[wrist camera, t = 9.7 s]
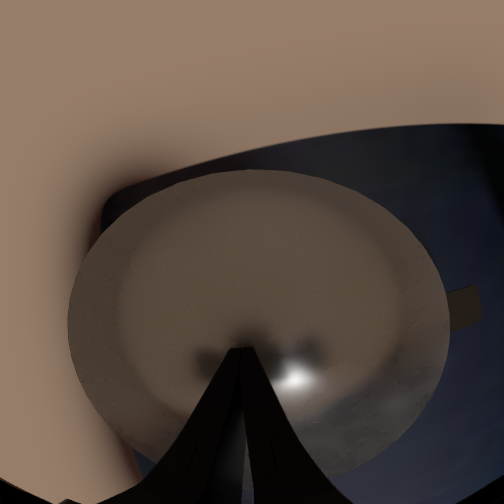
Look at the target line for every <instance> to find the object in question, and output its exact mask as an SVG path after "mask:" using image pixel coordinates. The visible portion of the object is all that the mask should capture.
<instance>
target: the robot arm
mask: <svg viewBox="0 0 504 504" xmlns="http://www.w3.org/2000/svg"><path fill="white" fill-rule="evenodd" d="M186 423H187V424H185V425H184V427H183V428H182V430H181V432H180V433H179V435H178V436H177V438H176V440H175V441H174V443H173V444H172V445H171V447H170V448H169V449H168V451H167V452H166V453H165V454H164V456H163V457H162V458H161V459H160V460H159V462H158V463H157V464H156V465H155V467H154V468H153V469H152V470H151V471H150V472H149V474H148V475H147V476H146V477H145V478H144V479H143V480H142V481H141V482H140V483H138V484H137V485H136V486H134V487H132V488H130V489H128V490H126V491H124V492H122V493H120V494H118V495H115V496H114V497H111V498H109V499H107V500H104V501H102V502H100V503H97V504H241V498H242V486H243V473H244V460H245V447H246V438H247V445H248V453H249V460H250V467H251V475H252V482H253V488H254V504H353V503H352V502H351V501H350V500H349V499H348V498H346V497H345V496H344V495H343V494H342V493H341V492H340V491H339V490H338V489H337V488H336V487H335V486H334V485H333V484H332V483H331V482H330V481H329V479H328V478H327V477H326V476H325V475H324V473H323V472H322V471H321V469H320V468H319V467H318V465H317V464H316V463H315V462H314V460H313V459H312V458H311V456H310V455H309V454H308V452H307V451H306V449H305V448H304V446H303V445H302V443H301V442H300V440H299V439H298V437H297V435H296V433H295V432H294V430H293V428H292V426H291V424H290V422H289V420H288V418H287V416H286V414H285V412H284V410H283V408H282V406H281V404H280V402H279V400H278V397H277V395H276V393H275V391H274V389H273V387H272V385H271V383H270V381H269V379H268V376H267V374H266V372H265V370H264V368H263V366H262V364H261V361H260V359H259V357H258V355H257V353H256V350H255V348H254V346H252V345H250V346H243V347H242V348H241V347H231V348H229V350H228V351H227V353H226V355H225V357H224V358H223V360H222V362H221V364H220V365H219V367H218V369H217V371H216V372H215V374H214V376H213V378H212V379H211V381H210V383H209V385H208V386H207V388H206V390H205V391H204V393H203V395H202V397H201V398H200V400H199V402H198V403H197V405H196V407H195V409H194V410H193V412H192V414H191V415H190V417H189V419H188V420H187V422H186ZM0 504H52V503H50V502H48V501H46V500H44V499H41V498H39V497H37V496H35V495H33V494H30V493H28V492H26V491H24V490H22V489H20V488H18V487H17V486H14V485H13V484H11V483H9V482H7V481H6V480H4V479H2V478H0ZM59 504H80V503H77V502H75V501H72V500H69V499H65V500H64V501H62V502H61V503H59ZM456 504H504V475H502V476H501V477H499V478H498V479H496V480H494V481H493V482H491V483H489V484H488V485H486V486H485V487H483V488H482V489H480V490H478V491H477V492H475V493H473V494H472V495H470V496H468V497H467V498H465V499H463V500H461V501H459V502H458V503H456Z"/></svg>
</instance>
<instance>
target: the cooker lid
mask: <svg viewBox="0 0 504 504" xmlns="http://www.w3.org/2000/svg"><path fill="white" fill-rule="evenodd" d="M449 339H450V315H449V309H448V303H447V297H446V293H445V290H444V287H443V284H442V281H441V278H440V276H439V273H438V271H437V269H436V267H435V265H434V263H433V262H432V260H431V258H430V256H429V255H428V253H427V251H426V249H425V248H424V247H423V246H422V244H421V243H420V242H419V241H418V239H417V238H416V237H415V236H414V235H413V233H412V232H411V231H410V230H409V229H408V228H407V227H406V226H405V225H404V224H403V223H402V222H400V221H399V220H398V219H397V218H396V217H395V216H393V215H392V214H391V213H390V212H389V211H387V210H386V209H385V208H383V207H382V206H380V205H379V204H377V203H375V202H373V201H372V200H370V199H368V198H367V197H365V196H363V195H362V194H360V193H358V192H356V191H354V190H351V189H349V188H346V187H344V186H341V185H338V184H336V183H333V182H330V181H328V180H325V179H322V178H317V177H313V176H308V175H303V174H298V173H293V172H288V171H273V170H240V171H230V172H221V173H213V174H209V175H205V176H201V177H198V178H194V179H190V180H187V181H183V182H180V183H177V184H175V185H173V186H170V187H168V188H166V189H164V190H161V191H159V192H157V193H155V194H153V195H151V196H149V197H147V198H145V199H144V200H142V201H141V202H139V203H138V204H136V205H135V206H133V207H132V208H131V209H129V210H128V211H126V212H125V213H123V214H122V215H121V216H120V217H119V218H118V219H117V220H116V221H115V222H114V223H113V224H112V225H110V226H109V227H108V228H107V229H106V230H105V231H104V232H103V233H102V235H101V236H100V237H99V239H98V240H97V241H96V243H95V244H94V245H93V247H92V248H91V250H90V251H89V252H88V254H87V256H86V257H85V260H84V261H83V263H82V265H81V268H80V270H79V272H78V274H77V276H76V279H75V282H74V286H73V289H72V293H71V296H70V302H69V310H68V340H69V346H70V351H71V357H72V361H73V363H74V367H75V370H76V373H77V376H78V378H79V380H80V383H81V385H82V387H83V389H84V391H85V393H86V395H87V396H88V398H89V399H90V401H91V403H92V404H93V406H94V407H95V409H96V410H97V412H98V413H99V414H100V415H101V417H102V418H103V419H104V420H105V422H106V423H107V424H108V425H109V426H110V427H111V428H112V429H113V430H114V431H115V432H116V433H117V434H118V435H119V436H120V437H121V438H122V439H123V440H124V441H125V442H127V443H128V444H129V445H130V446H132V447H133V448H134V449H135V450H137V451H138V452H140V453H141V454H143V455H144V456H146V457H147V458H149V459H150V460H152V461H154V462H155V463H158V462H159V460H160V459H161V458H162V457H163V456H164V454H165V453H166V452H167V451H168V449H169V448H170V447H171V445H172V444H173V443H174V441H175V440H176V438H177V436H178V435H179V433H180V432H181V430H182V428H183V427H184V425H185V424H187V423H186V422H187V420H188V419H189V417H190V415H191V414H192V412H193V410H194V409H195V407H196V405H197V403H198V402H199V400H200V398H201V397H202V395H203V393H204V391H205V390H206V388H207V386H208V385H209V383H210V381H211V379H212V378H213V376H214V374H215V372H216V371H217V369H218V367H219V365H220V364H221V362H222V360H223V358H224V357H225V355H226V353H227V351H228V350H229V348H231V347H241V348H242V347H243V346H250V345H252V346H254V348H255V350H256V353H257V355H258V357H259V359H260V361H261V364H262V366H263V368H264V370H265V372H266V374H267V376H268V379H269V381H270V383H271V385H272V387H273V389H274V391H275V393H276V395H277V397H278V400H279V402H280V404H281V406H282V408H283V410H284V412H285V414H286V416H287V418H288V420H289V422H290V424H291V426H292V428H293V430H294V432H295V433H296V435H297V437H298V439H299V440H300V442H301V443H302V445H303V446H304V448H305V449H306V451H307V452H308V454H309V455H310V456H311V458H312V459H313V460H314V462H315V463H316V464H317V465H318V467H319V468H320V469H321V471H322V472H323V473H324V475H325V476H326V477H327V478H328V479H330V478H333V477H335V476H338V475H340V474H343V473H345V472H348V471H350V470H352V469H354V468H356V467H358V466H360V465H362V464H363V463H365V462H367V461H369V460H370V459H372V458H373V457H375V456H376V455H378V454H379V453H381V452H382V451H384V450H385V449H386V448H387V447H389V446H390V445H391V444H392V443H393V442H395V441H396V440H397V439H398V438H399V437H400V436H401V435H402V434H403V433H404V432H405V431H406V430H407V429H408V428H409V427H410V426H411V425H412V424H413V422H414V421H415V420H416V419H417V417H418V416H419V415H420V414H421V412H422V411H423V409H424V408H425V406H426V405H427V403H428V402H429V400H430V398H431V397H432V395H433V393H434V391H435V389H436V386H437V384H438V382H439V380H440V378H441V375H442V372H443V368H444V365H445V362H446V358H447V352H448V346H449ZM242 489H248V490H254V488H253V482H252V475H251V467H250V460H249V453H248V445H247V438H246V447H245V460H244V473H243V486H242Z"/></svg>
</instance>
